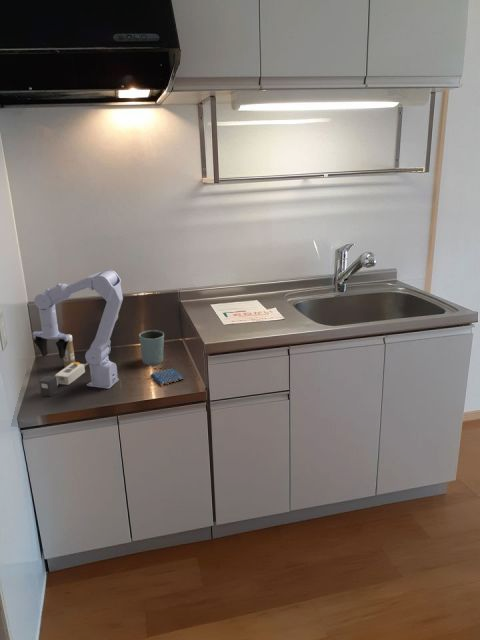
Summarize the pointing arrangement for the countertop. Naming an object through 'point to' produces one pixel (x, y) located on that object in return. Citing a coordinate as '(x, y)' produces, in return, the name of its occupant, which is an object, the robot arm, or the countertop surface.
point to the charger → (48, 385)
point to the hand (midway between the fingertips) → (53, 356)
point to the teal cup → (152, 346)
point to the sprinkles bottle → (69, 353)
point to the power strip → (70, 373)
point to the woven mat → (166, 376)
